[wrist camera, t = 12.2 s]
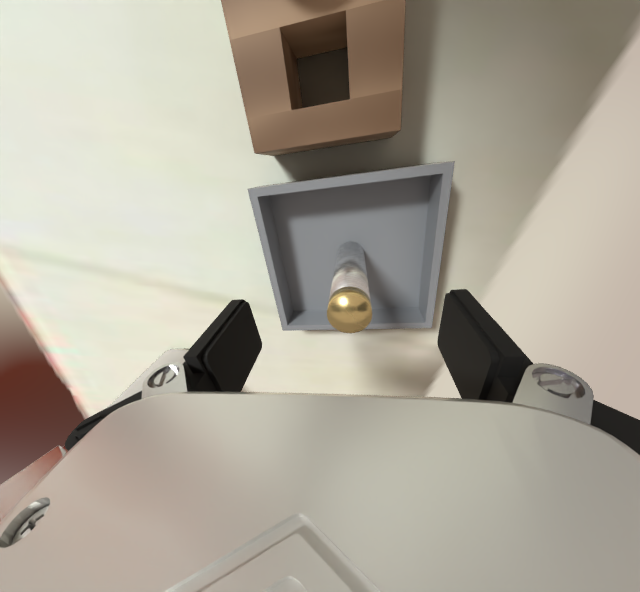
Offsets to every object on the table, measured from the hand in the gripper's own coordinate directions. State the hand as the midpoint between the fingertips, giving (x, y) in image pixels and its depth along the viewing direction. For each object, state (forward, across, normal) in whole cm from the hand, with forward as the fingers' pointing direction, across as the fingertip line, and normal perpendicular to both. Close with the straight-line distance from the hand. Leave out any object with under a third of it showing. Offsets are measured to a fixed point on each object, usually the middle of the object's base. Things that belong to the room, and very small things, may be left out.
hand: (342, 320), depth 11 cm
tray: (+12, 0, +1) cm, 12 cm away
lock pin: (+11, 0, +1) cm, 11 cm away
